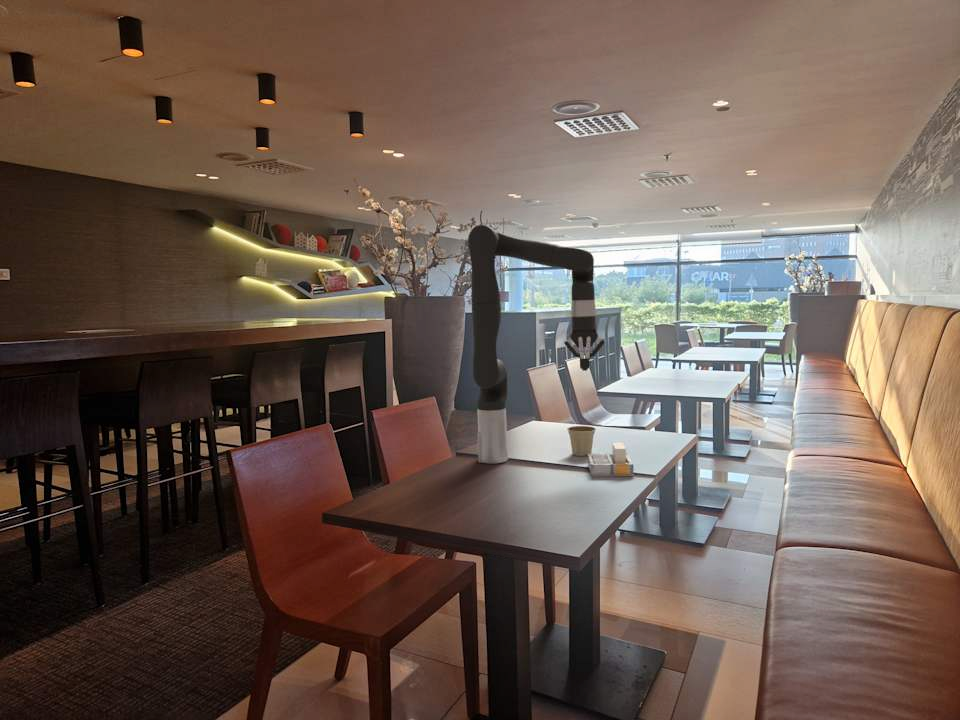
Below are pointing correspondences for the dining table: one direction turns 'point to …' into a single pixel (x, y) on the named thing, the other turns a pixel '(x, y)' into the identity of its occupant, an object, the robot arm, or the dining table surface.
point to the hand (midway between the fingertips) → (584, 370)
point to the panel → (618, 453)
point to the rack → (609, 466)
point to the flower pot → (581, 439)
